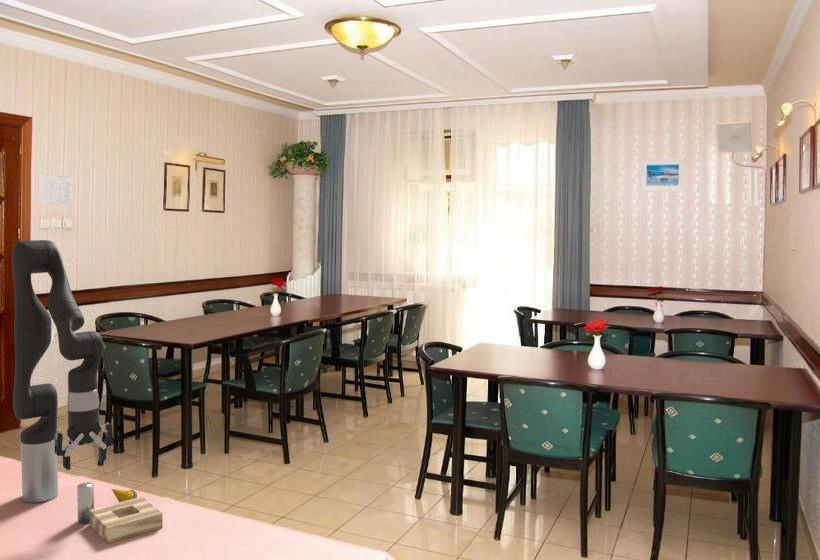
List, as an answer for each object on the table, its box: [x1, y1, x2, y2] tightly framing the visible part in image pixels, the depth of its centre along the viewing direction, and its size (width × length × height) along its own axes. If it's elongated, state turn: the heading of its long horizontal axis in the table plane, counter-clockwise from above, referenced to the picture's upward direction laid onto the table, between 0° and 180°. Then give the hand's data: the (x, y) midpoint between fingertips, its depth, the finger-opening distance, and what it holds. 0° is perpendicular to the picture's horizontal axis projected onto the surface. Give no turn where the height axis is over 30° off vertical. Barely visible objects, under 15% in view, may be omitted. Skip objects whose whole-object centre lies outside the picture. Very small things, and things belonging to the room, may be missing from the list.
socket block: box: [89, 496, 164, 544], centre depth 182 cm, size 14×14×4 cm
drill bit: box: [111, 488, 138, 503], centre depth 193 cm, size 5×5×10 cm
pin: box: [76, 481, 95, 525], centre depth 184 cm, size 4×4×10 cm
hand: (84, 465), depth 183 cm, fingers open, 8 cm apart
